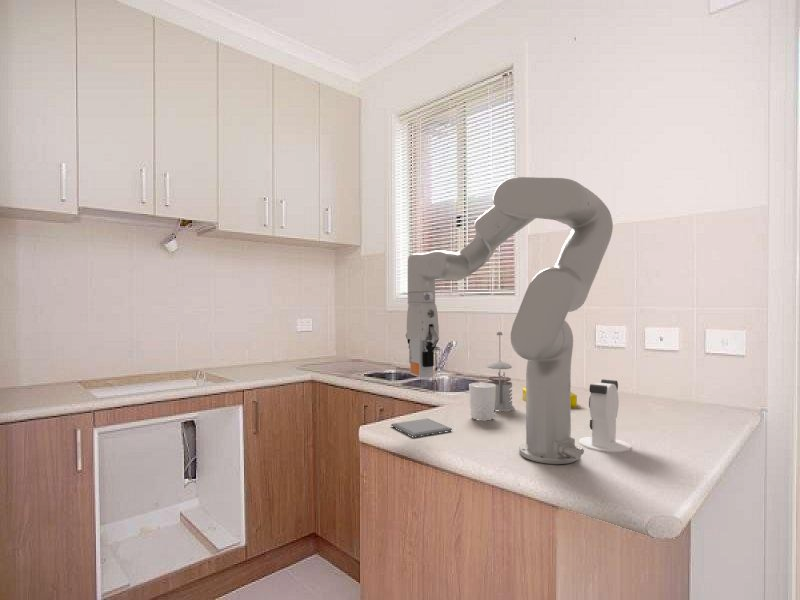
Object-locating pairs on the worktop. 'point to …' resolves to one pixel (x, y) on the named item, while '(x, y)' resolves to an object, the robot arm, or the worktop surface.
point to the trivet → (421, 427)
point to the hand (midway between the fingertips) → (421, 364)
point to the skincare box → (418, 359)
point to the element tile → (572, 398)
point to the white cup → (482, 400)
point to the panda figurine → (604, 418)
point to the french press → (501, 385)
